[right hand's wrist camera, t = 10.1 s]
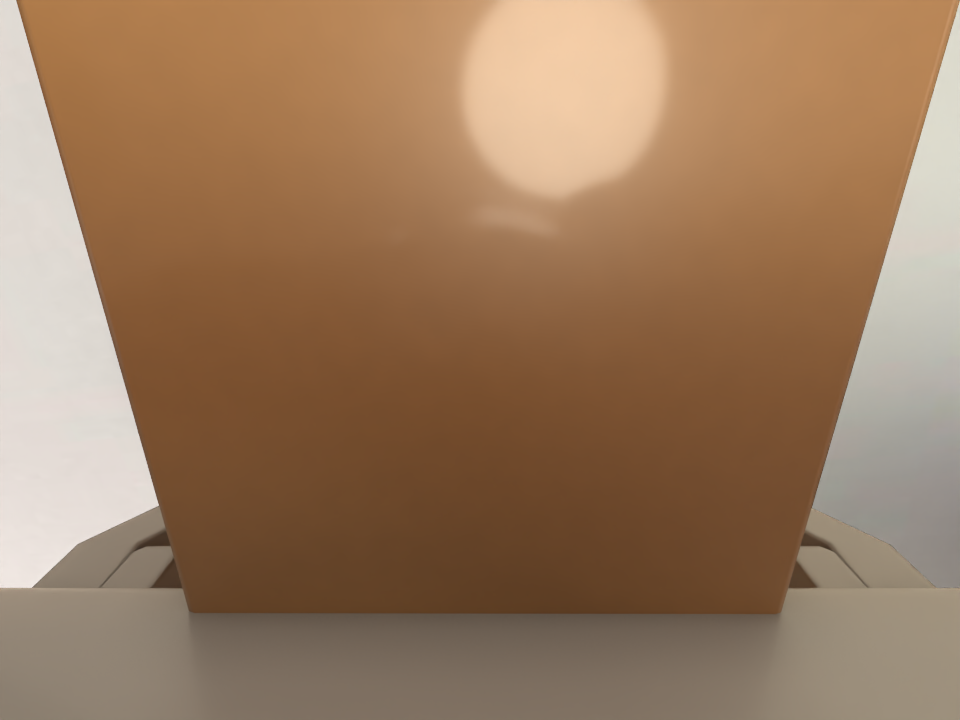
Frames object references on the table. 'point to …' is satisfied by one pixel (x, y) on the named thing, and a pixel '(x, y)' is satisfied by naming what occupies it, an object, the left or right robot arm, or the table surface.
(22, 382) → the table surface
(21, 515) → the table surface
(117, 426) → the table surface
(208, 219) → the bar
